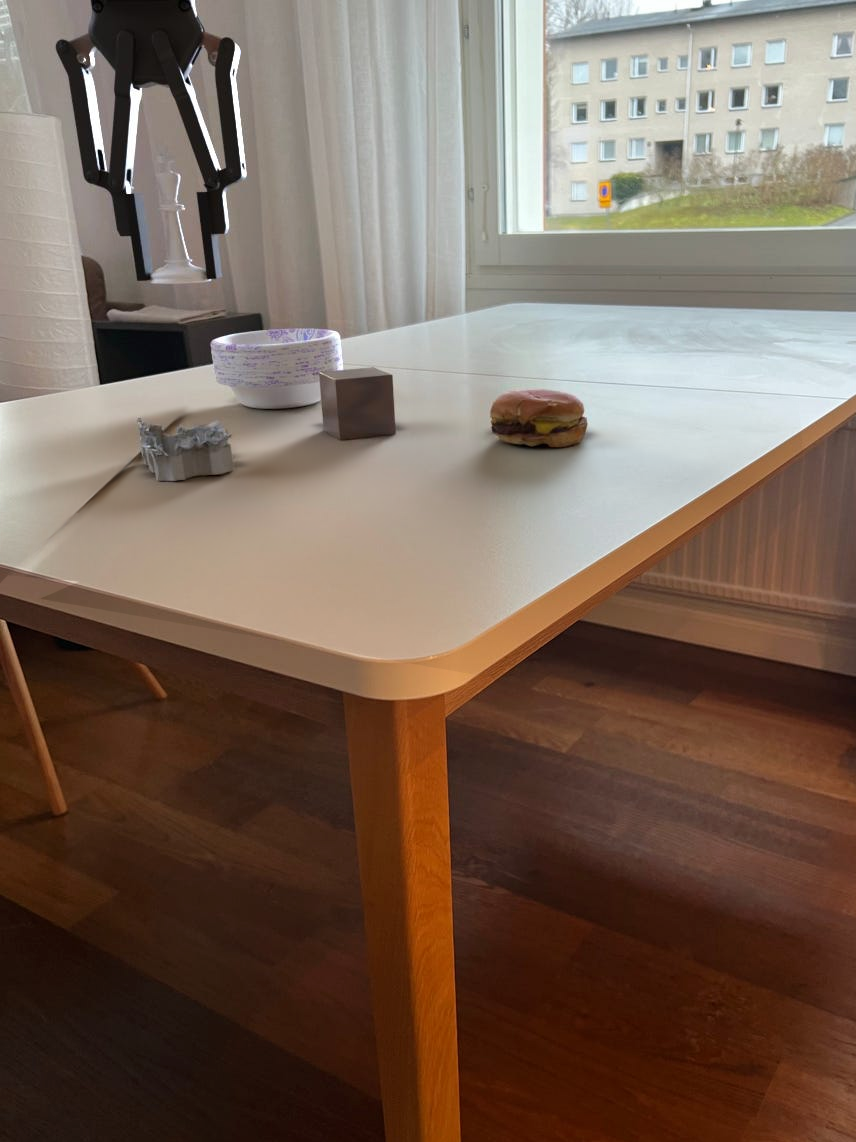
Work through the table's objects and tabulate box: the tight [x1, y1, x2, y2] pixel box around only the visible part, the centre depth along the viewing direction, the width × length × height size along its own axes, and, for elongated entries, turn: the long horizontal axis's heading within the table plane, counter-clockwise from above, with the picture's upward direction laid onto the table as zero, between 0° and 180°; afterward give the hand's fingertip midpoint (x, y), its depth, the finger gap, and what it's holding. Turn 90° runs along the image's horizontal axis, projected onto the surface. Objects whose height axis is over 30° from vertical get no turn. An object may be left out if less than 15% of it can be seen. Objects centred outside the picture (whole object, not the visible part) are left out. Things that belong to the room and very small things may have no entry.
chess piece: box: [149, 146, 212, 285], centre depth 80 cm, size 5×5×10 cm
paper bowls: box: [210, 328, 344, 410], centre depth 119 cm, size 15×15×8 cm
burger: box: [489, 388, 588, 448], centre depth 97 cm, size 10×9×5 cm
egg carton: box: [136, 417, 235, 482], centre depth 90 cm, size 11×8×4 cm
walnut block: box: [319, 366, 397, 441], centre depth 102 cm, size 6×6×6 cm
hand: (180, 278), depth 82 cm, fingers closed on chess piece, 5 cm apart
